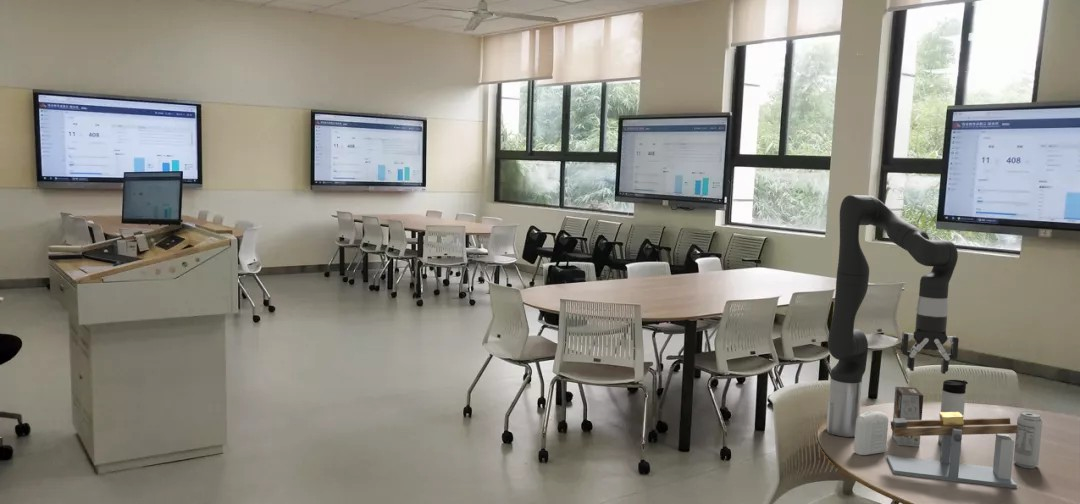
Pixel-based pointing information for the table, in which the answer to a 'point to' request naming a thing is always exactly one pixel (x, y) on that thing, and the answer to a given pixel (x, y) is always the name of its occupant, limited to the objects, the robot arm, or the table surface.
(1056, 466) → the table surface
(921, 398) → the coffee box
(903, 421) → the beam
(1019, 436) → the energy drink can
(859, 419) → the photo printer
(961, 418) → the gold metal cube
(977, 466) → the stand
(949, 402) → the travel mug
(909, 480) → the table surface
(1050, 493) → the table surface
